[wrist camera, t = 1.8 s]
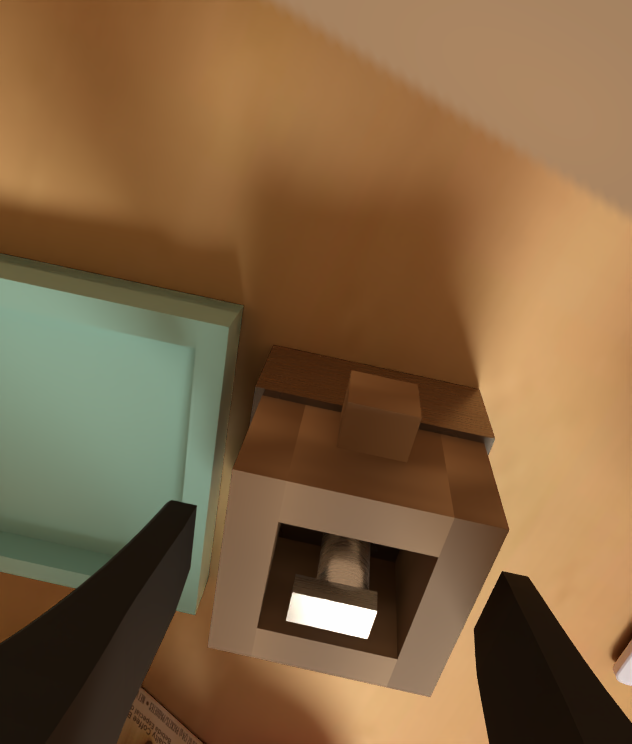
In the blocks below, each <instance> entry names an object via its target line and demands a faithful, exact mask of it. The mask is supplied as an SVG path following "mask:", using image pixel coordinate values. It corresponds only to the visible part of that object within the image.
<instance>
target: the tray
mask: <svg viewBox="0 0 632 744" xmlns="http://www.w3.org/2000/svg"><path fill="white" fill-rule="evenodd" d="M243 306H244V305H239V304H234V303H230V302H225V301H220V300H216V299H211V298H207V297H202V296H197V295H193V294H188V293H183V292H179V291H174V290H169V289H165V288H160V287H155V286H151V285H146V284H141V283H137V282H132V281H127V280H123V279H118V278H113V277H109V276H104V275H99V274H95V273H90V272H85V271H81V270H76V269H71V268H67V267H62V266H57V265H53V264H48V263H44V262H39V261H34V260H30V259H25V258H20V257H16V256H11V255H6V254H2V253H0V572H4V573H8V574H13V575H17V576H22V577H26V578H31V579H35V580H40V581H44V582H49V583H53V584H58V585H62V586H67V587H71V588H77V587H79V586H80V585H81V584H82V583H83V582H85V581H86V580H87V579H88V578H89V577H91V576H92V575H93V574H94V573H95V572H97V571H98V570H99V569H100V568H101V567H102V566H104V565H105V564H106V563H107V562H108V561H109V560H110V559H111V558H112V557H113V556H114V555H115V554H117V553H118V552H119V551H120V550H121V549H122V548H123V547H124V546H125V545H126V544H127V543H128V542H129V541H130V540H131V539H132V538H133V537H134V536H135V535H137V534H138V533H139V532H140V531H141V530H142V529H143V528H144V526H145V525H146V524H147V523H148V522H149V521H150V520H151V519H152V518H153V517H154V516H155V515H156V514H157V513H158V512H159V511H160V509H161V508H162V507H163V506H164V505H165V504H166V503H167V502H169V501H170V500H175V501H179V502H184V503H188V504H193V505H197V511H196V521H195V530H194V540H193V549H192V559H191V568H190V571H189V574H188V577H187V580H186V583H185V586H184V589H183V592H182V594H181V597H180V600H179V603H178V606H177V609H176V611H179V612H183V613H188V614H192V615H195V614H196V611H197V609H198V606H199V603H200V600H201V598H202V595H203V592H204V589H205V587H206V584H207V581H208V577H209V570H210V562H211V554H212V546H213V539H214V531H215V523H216V515H217V508H218V500H219V492H220V484H221V477H222V469H223V461H224V453H225V446H226V438H227V430H228V422H229V415H230V407H231V399H232V391H233V384H234V376H235V368H236V360H237V353H238V345H239V337H240V329H241V322H242V314H243Z"/></svg>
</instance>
